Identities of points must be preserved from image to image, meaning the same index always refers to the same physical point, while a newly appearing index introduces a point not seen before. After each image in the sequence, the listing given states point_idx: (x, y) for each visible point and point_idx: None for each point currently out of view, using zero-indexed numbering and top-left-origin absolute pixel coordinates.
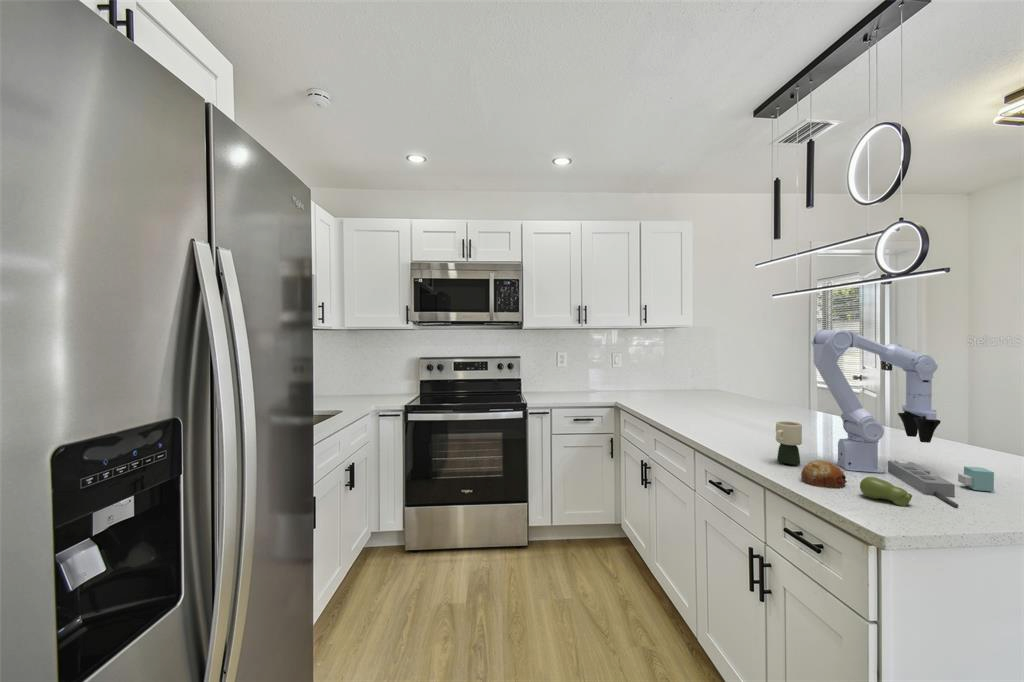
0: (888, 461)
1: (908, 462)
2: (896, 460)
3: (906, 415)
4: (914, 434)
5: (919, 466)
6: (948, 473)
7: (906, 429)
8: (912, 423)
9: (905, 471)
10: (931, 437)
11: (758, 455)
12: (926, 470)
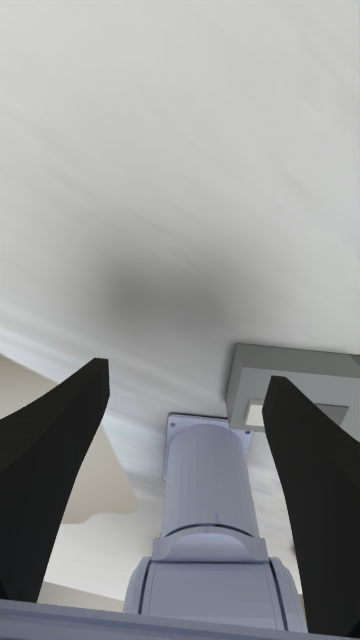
0: (233, 428)
1: (245, 381)
2: (251, 422)
3: (27, 581)
4: (102, 376)
5: (301, 375)
6: (215, 208)
7: (91, 438)
8: (65, 456)
9: (356, 439)
10: (307, 400)
11: (134, 569)
12: (356, 382)
